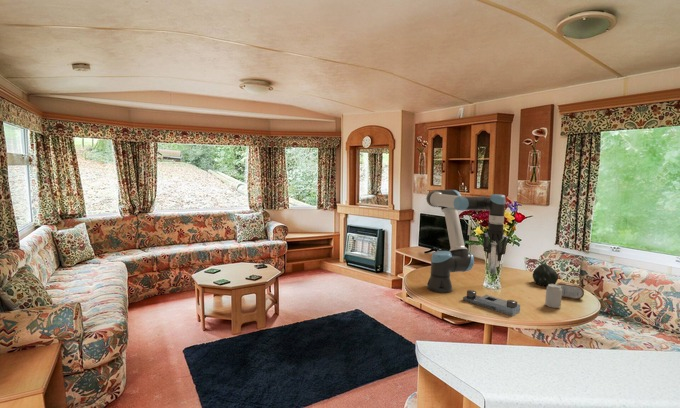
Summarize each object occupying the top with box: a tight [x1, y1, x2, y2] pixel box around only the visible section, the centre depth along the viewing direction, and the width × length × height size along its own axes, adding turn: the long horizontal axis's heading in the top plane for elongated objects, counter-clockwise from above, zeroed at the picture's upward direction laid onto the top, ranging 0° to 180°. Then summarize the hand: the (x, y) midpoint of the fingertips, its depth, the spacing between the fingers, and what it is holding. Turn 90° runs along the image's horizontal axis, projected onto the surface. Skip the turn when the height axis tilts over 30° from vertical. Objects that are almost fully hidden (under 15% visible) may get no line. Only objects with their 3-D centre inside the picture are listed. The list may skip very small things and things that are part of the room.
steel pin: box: [488, 241, 498, 275], centre depth 200 cm, size 5×5×17 cm
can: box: [544, 283, 563, 309], centre depth 205 cm, size 8×8×12 cm
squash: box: [532, 263, 559, 287], centre depth 243 cm, size 14×15×15 cm
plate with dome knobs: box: [462, 289, 521, 317], centre depth 203 cm, size 28×9×6 cm, turn 41°
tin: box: [556, 281, 585, 300], centre depth 220 cm, size 15×3×8 cm, turn 59°
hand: (493, 265), depth 201 cm, fingers closed on steel pin, 3 cm apart
